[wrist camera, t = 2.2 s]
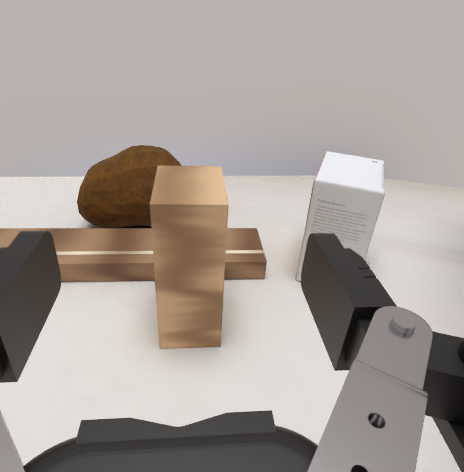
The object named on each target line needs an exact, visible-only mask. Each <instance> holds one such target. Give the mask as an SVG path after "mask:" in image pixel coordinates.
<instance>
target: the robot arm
mask: <svg viewBox="0 0 464 472" xmlns="http://www.w3.org/2000/svg"><path fill="white" fill-rule="evenodd" d="M60 286H61V272H60V268H59V263H58V259H57V254H56V250H55V245H54V240H53V237H52V234H51V233H50V232H49V231H21V232H19V234H18V235H17V236H16V237H15V239H14V240H13V241H12V243H11V244H10V245H9V246H8V247H1V248H0V383H1V382H17V381H18V379H19V377H20V375H21V373H22V371H23V369H24V366H25V364H26V362H27V360H28V358H29V356H30V354H31V351H32V349H33V347H34V345H35V343H36V341H37V339H38V337H39V334H40V332H41V330H42V328H43V326H44V324H45V322H46V319H47V317H48V315H49V313H50V311H51V309H52V307H53V304H54V302H55V300H56V298H57V296H58V294H59V291H60ZM301 286H302V290H303V293H304V295H305V298H306V300H307V303H308V305H309V308H310V310H311V313H312V315H313V318H314V320H315V323H316V325H317V328H318V330H319V333H320V335H321V338H322V340H323V342H324V345H325V347H326V350H327V352H328V355H329V357H330V360H331V362H332V365H333V367H334V370H335V371H337V370H349V373H348V375H347V378H346V380H345V383H344V385H343V387H342V390H341V392H340V395H339V397H338V399H337V402H336V404H335V407H334V409H333V411H332V414H331V416H330V419H329V421H328V423H327V426H326V428H325V431H324V433H323V435H322V438H321V440H320V443H319V445H316V444H315V443H314V442H312V441H311V440H309V439H308V438H306V437H304V436H303V435H300V434H298V433H296V432H294V431H292V430H289V429H286V428H283V427H279V426H275V424H274V419H273V414H272V411H252V412H233V413H225V414H222V415H218V416H215V417H212V418H209V419H205V420H202V421H199V422H196V423H192V424H189V425H186V426H182V427H173V426H169V425H164V424H159V423H154V422H149V421H144V420H139V419H134V418H117V419H97V420H81V424H80V427H79V431H78V435H77V437H75V438H72V439H69V440H66V441H64V442H62V443H59V444H57V445H55V446H53V447H51V448H50V449H48V450H46V451H44V452H43V453H41V454H40V455H38V456H37V457H35V458H33V459H32V460H31V461H30V462H28V463H27V464H26V465H23V463H22V461H21V458H20V456H19V454H18V451H17V449H16V446H15V444H14V442H13V439H12V437H11V435H10V432H9V430H8V427H7V425H6V423H5V420H4V418H3V416H2V413H1V411H0V472H415V469H416V463H417V457H418V451H419V445H420V440H421V434H422V428H423V422H424V416H425V415H427V416H431V417H432V418H433V419H434V421H435V423H436V425H437V427H438V429H439V431H440V432H441V434H442V436H443V438H444V440H445V442H446V444H447V446H448V447H449V449H450V451H451V453H452V455H453V457H454V459H455V461H456V462H457V464H458V466H459V468H460V470H461V472H464V338H460V337H455V336H451V335H446V334H441V333H437V332H433V331H432V330H431V328H430V326H429V325H428V323H427V322H426V321H425V320H424V319H423V318H421V317H420V316H419V315H417V314H415V313H414V312H412V311H409V310H407V309H404V308H400V307H397V306H396V304H395V303H394V302H393V300H392V299H391V297H390V296H389V295H388V293H387V292H386V290H385V289H384V287H383V286H382V285H381V283H380V282H379V280H378V279H376V276H375V275H374V273H373V272H372V270H370V267H369V266H368V265H367V263H366V262H365V260H364V259H363V257H361V256H360V255H359V254H357V253H356V252H354V251H353V250H352V249H350V248H344V247H343V245H342V244H341V242H340V241H339V239H338V238H337V236H336V235H335V234H334V233H311V234H310V235H309V237H308V241H307V246H306V251H305V256H304V261H303V266H302V271H301Z"/></svg>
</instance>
